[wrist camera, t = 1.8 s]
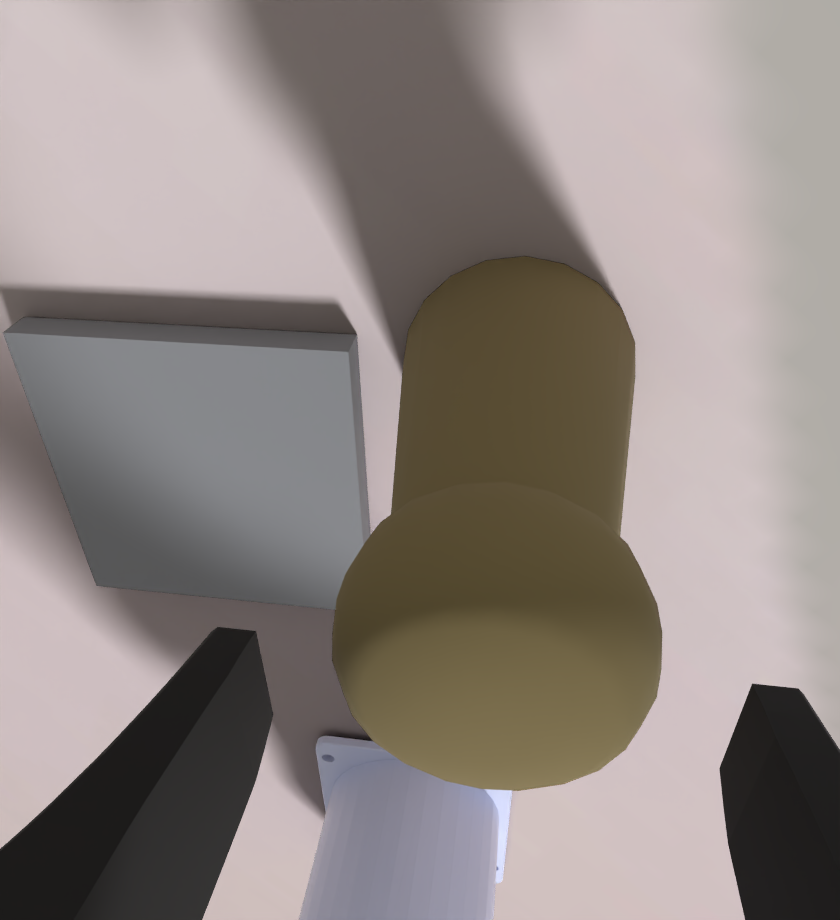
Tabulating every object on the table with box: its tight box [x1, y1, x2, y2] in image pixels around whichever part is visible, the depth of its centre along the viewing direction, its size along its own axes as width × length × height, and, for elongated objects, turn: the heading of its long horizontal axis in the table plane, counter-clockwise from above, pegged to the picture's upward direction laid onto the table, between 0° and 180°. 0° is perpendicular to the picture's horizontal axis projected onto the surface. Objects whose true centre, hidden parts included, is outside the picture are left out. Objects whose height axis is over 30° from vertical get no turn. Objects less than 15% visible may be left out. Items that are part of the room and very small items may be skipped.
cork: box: [332, 256, 662, 791], centre depth 15 cm, size 6×6×11 cm
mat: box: [3, 317, 370, 610], centre depth 22 cm, size 10×10×1 cm
